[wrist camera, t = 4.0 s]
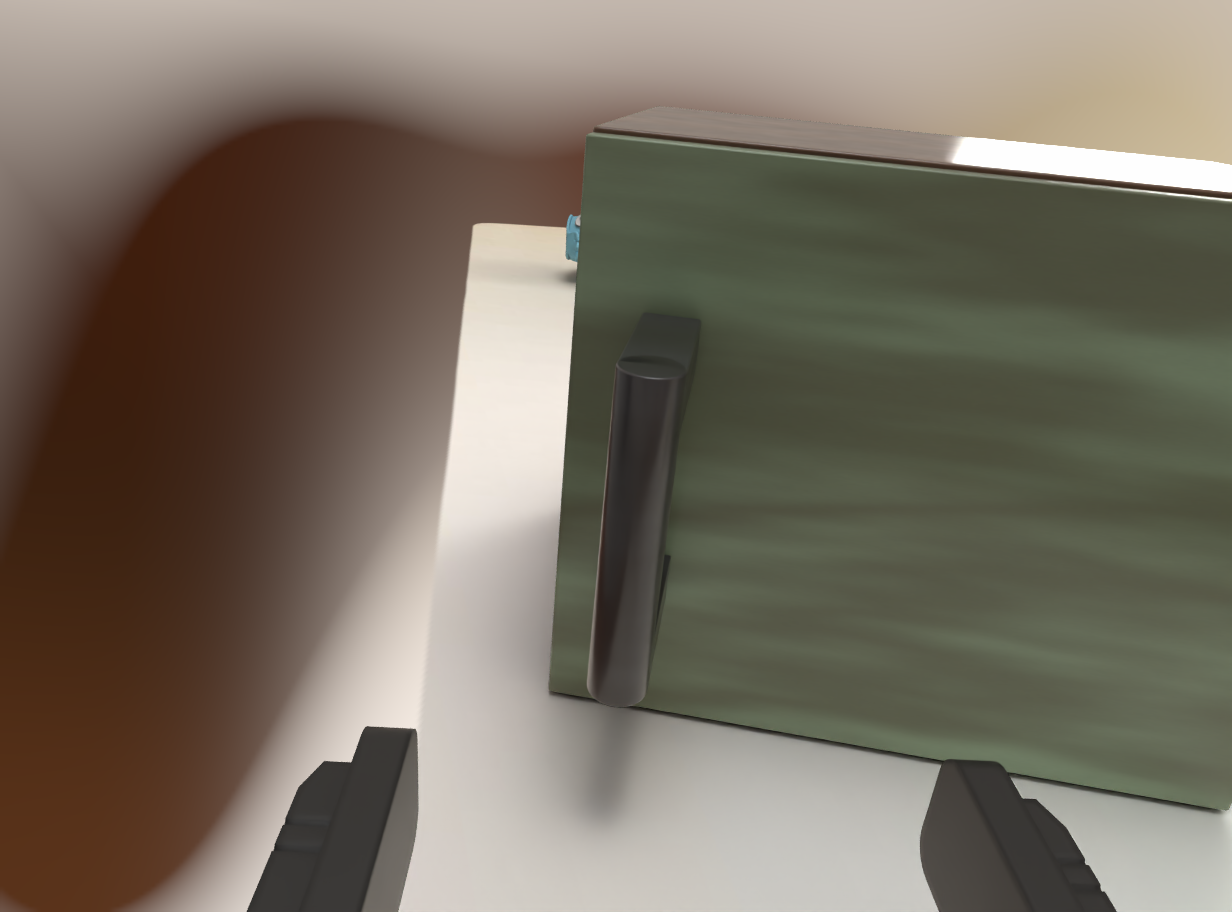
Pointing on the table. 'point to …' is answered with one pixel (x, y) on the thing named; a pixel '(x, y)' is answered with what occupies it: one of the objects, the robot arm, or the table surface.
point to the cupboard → (929, 150)
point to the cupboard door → (903, 461)
